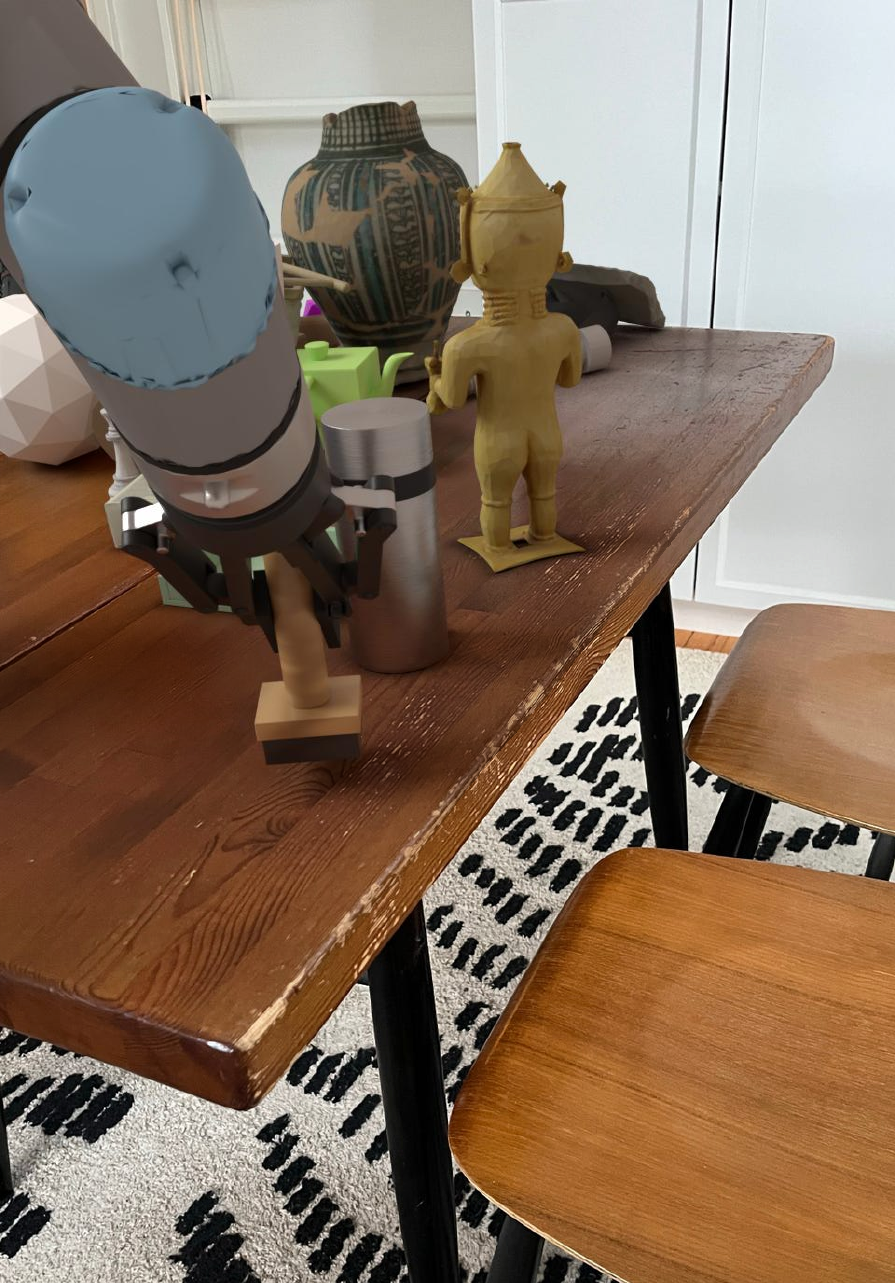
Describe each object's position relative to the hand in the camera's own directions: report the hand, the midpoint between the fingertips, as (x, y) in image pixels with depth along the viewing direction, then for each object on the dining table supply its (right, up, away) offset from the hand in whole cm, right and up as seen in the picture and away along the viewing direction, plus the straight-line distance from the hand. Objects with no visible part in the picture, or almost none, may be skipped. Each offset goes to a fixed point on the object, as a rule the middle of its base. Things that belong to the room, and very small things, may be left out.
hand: (306, 629), depth 73 cm
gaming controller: (+23, +48, +84) cm, 99 cm away
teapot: (-4, +27, +55) cm, 61 cm away
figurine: (+14, +11, +29) cm, 34 cm away
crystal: (-13, +56, +100) cm, 116 cm away
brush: (+1, -7, 0) cm, 7 cm away
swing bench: (-6, +37, +55) cm, 67 cm away
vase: (+2, +41, +75) cm, 86 cm away
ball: (-26, +38, +52) cm, 70 cm away
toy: (-7, +54, +84) cm, 100 cm away
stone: (+24, +57, +79) cm, 100 cm away
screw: (+18, +41, +66) cm, 80 cm away
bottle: (+5, 0, +14) cm, 15 cm away
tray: (-5, +7, +26) cm, 27 cm away
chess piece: (-22, +18, +44) cm, 53 cm away
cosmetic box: (-19, +14, +33) cm, 40 cm away
